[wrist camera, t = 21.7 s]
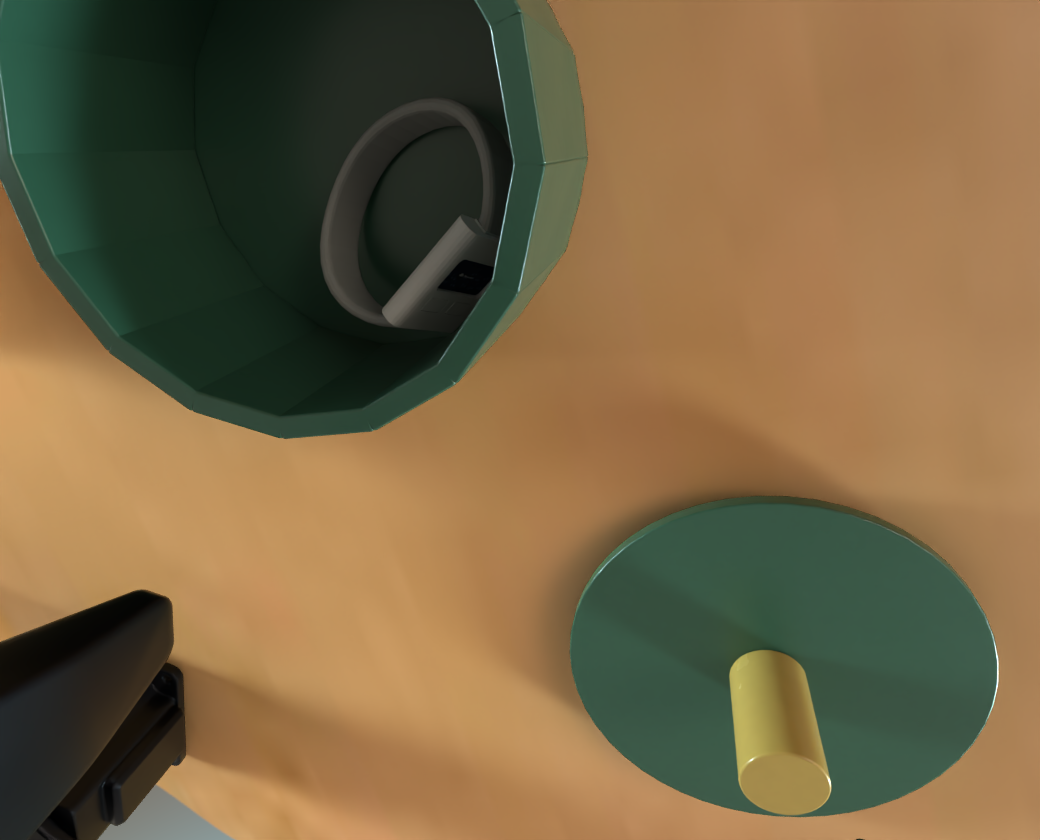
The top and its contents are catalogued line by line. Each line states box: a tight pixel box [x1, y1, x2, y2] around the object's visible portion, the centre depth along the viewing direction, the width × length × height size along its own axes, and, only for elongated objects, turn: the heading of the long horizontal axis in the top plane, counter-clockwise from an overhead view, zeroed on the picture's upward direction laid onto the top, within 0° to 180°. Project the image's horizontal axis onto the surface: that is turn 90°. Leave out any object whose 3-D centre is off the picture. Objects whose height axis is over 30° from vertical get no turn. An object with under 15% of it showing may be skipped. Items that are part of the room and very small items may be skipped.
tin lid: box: [570, 496, 998, 817], centre depth 20 cm, size 13×13×5 cm
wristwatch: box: [320, 97, 513, 333], centre depth 17 cm, size 6×3×5 cm
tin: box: [0, 0, 588, 439], centre depth 16 cm, size 12×12×6 cm
